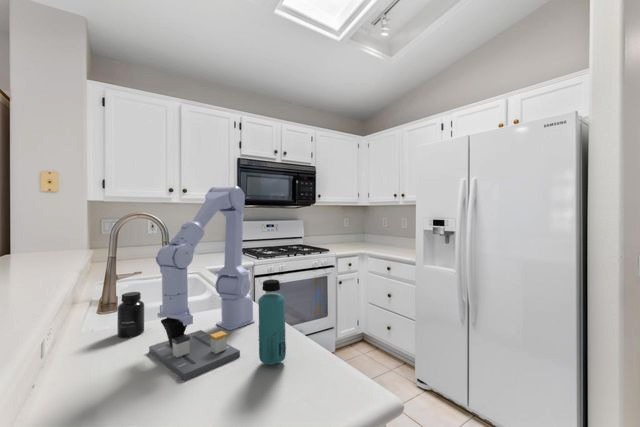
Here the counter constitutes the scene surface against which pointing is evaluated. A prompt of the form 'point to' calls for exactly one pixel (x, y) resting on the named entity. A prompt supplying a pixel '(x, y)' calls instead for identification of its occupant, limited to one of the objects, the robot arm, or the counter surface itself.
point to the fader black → (180, 345)
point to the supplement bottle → (130, 315)
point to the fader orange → (218, 342)
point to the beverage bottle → (271, 324)
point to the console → (193, 356)
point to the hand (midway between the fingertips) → (175, 346)
